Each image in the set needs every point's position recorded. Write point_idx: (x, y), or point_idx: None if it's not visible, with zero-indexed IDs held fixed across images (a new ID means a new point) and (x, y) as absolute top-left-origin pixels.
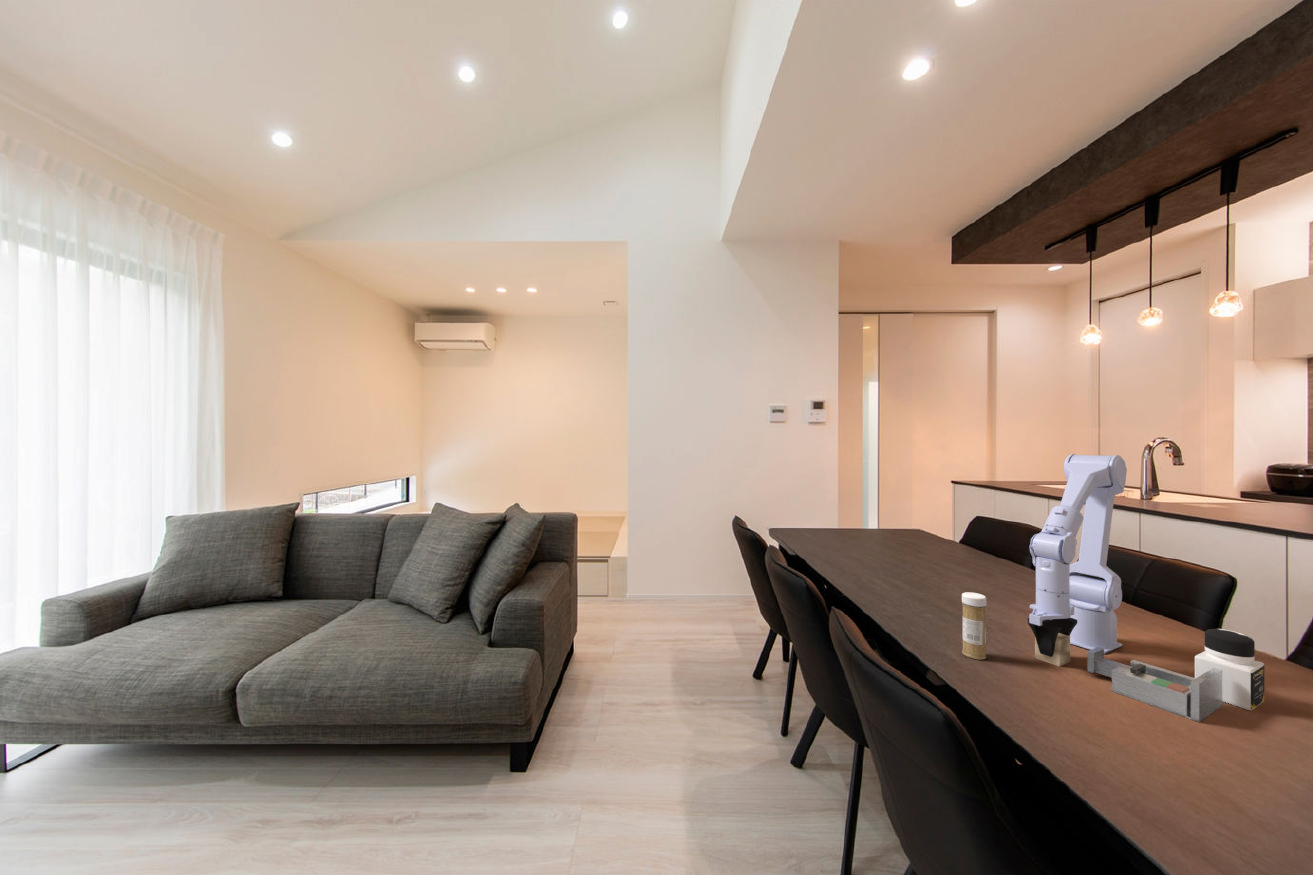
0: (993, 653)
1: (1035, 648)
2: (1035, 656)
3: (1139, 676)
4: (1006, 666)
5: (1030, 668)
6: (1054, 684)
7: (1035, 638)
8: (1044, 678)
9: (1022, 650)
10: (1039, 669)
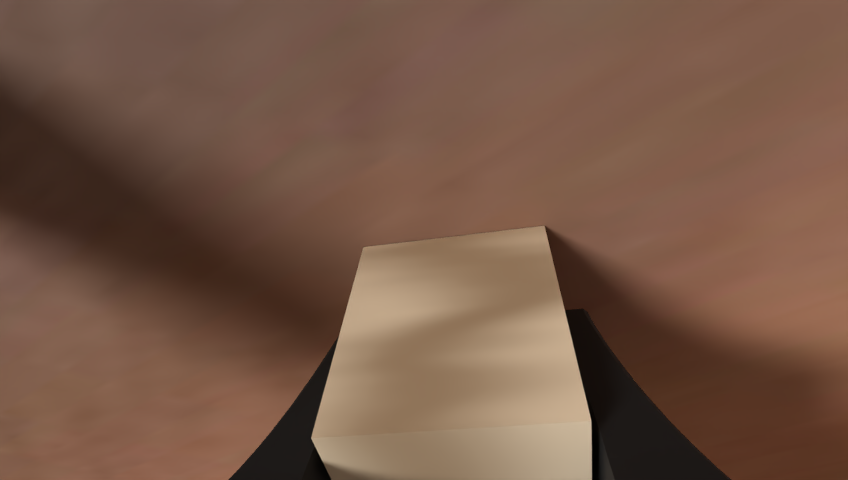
0: (45, 68)
1: (347, 307)
2: (360, 260)
3: None
4: (12, 268)
5: (172, 331)
6: (157, 452)
7: (331, 382)
8: (156, 413)
9: (409, 110)
10: (223, 354)
